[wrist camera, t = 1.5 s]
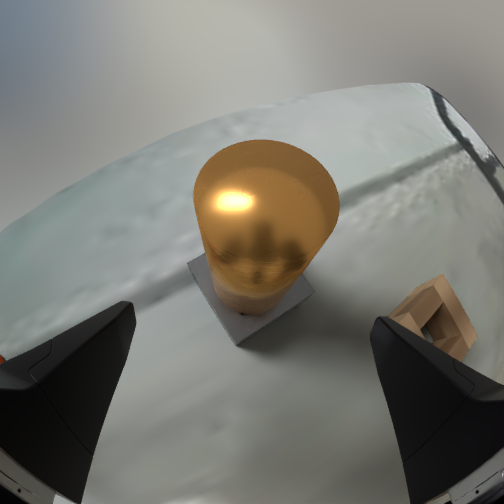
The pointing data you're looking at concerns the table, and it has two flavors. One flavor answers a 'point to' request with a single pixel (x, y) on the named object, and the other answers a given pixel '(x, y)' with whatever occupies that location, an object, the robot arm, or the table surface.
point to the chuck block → (233, 321)
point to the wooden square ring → (437, 317)
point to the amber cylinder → (262, 220)
